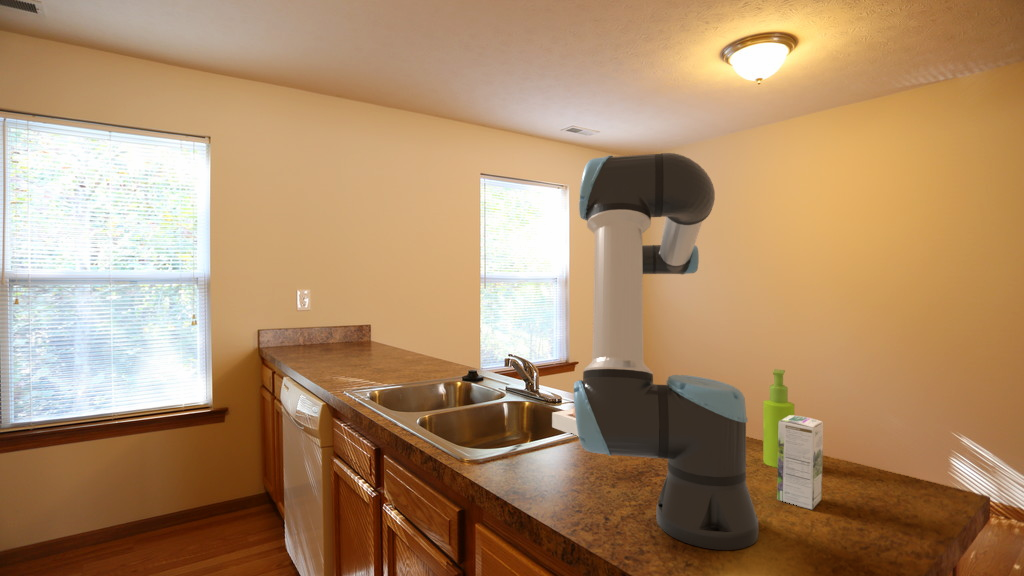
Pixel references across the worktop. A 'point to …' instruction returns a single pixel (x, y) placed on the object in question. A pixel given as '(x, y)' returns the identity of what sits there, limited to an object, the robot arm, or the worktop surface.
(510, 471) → the worktop surface
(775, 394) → the soap dispenser
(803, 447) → the syrup box
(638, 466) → the worktop surface
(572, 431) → the button panel
